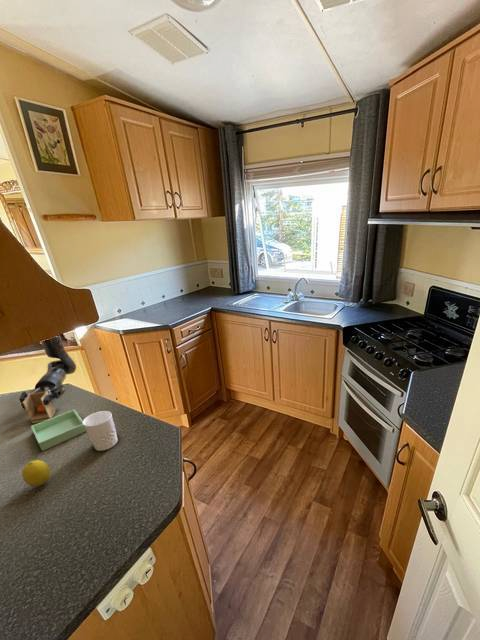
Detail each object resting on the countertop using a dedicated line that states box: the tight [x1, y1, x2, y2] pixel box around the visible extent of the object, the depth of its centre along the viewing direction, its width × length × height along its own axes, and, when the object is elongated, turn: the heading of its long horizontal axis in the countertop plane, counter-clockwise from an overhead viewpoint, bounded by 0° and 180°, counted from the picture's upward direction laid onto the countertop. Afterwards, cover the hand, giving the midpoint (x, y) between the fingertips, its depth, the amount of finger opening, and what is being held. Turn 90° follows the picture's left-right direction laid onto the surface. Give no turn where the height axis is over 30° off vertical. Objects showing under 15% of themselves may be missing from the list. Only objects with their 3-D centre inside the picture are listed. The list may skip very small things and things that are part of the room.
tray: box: [30, 409, 87, 452], centre depth 99 cm, size 13×13×3 cm
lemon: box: [21, 459, 51, 487], centre depth 77 cm, size 6×6×8 cm
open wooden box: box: [22, 391, 56, 424], centre depth 107 cm, size 6×6×9 cm
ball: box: [37, 405, 46, 413], centre depth 108 cm, size 3×3×3 cm
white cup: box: [82, 410, 119, 452], centre depth 91 cm, size 8×8×10 cm
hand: (34, 404), depth 104 cm, fingers closed on open wooden box, 5 cm apart
